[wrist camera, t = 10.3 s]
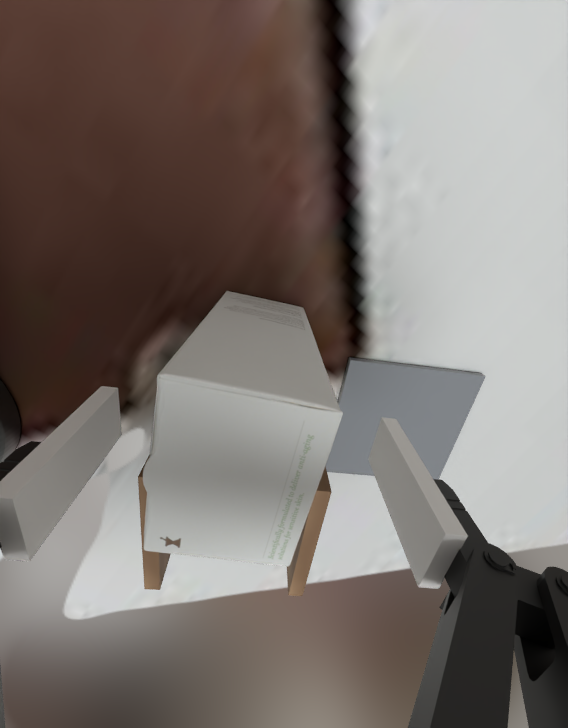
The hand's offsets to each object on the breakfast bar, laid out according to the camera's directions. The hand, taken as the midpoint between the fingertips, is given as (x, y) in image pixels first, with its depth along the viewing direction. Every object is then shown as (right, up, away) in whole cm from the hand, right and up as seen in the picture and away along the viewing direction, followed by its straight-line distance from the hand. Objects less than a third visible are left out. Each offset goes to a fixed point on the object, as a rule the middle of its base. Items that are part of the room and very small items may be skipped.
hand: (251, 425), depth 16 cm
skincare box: (-1, +5, +10) cm, 11 cm away
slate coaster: (+12, -2, +14) cm, 18 cm away
